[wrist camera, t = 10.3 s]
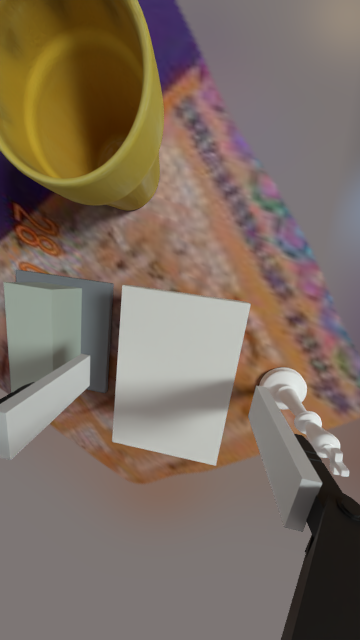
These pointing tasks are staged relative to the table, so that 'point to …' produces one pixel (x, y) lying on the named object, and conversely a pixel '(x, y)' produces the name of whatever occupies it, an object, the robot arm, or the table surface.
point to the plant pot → (81, 99)
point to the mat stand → (57, 326)
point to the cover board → (176, 370)
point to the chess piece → (303, 414)
